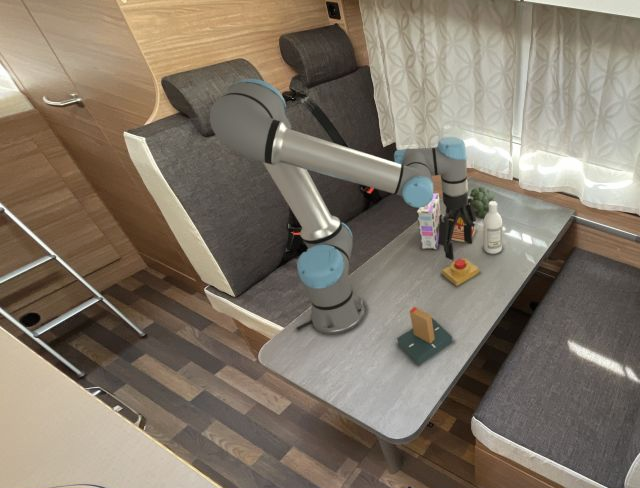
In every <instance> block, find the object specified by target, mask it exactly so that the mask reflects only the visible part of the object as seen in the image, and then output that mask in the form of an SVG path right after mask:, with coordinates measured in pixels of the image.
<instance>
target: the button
mask: <svg viewBox="0 0 640 488" xmlns="http://www.w3.org/2000/svg"><path fill="white" fill-rule="evenodd" d="M455 260H456V261H455ZM455 260H454V261H455V268H457V269H463V268H465V266H466V265H465V260H463V258H457V259H455Z"/></svg>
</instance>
